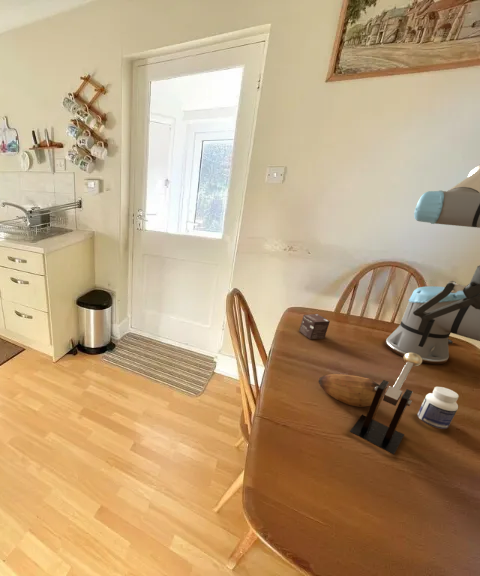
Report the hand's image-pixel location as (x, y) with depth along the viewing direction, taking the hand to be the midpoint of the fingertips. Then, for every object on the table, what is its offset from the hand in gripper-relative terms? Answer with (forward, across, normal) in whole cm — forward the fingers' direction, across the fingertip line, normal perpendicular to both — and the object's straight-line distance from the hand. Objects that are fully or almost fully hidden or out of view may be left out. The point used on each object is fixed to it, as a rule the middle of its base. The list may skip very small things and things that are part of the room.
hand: (463, 357), depth 70 cm
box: (+20, -36, +25) cm, 48 cm away
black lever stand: (+19, -7, -16) cm, 26 cm away
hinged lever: (+6, -7, -10) cm, 14 cm away
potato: (+19, -16, -8) cm, 26 cm away
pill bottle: (+19, 0, 0) cm, 19 cm away
